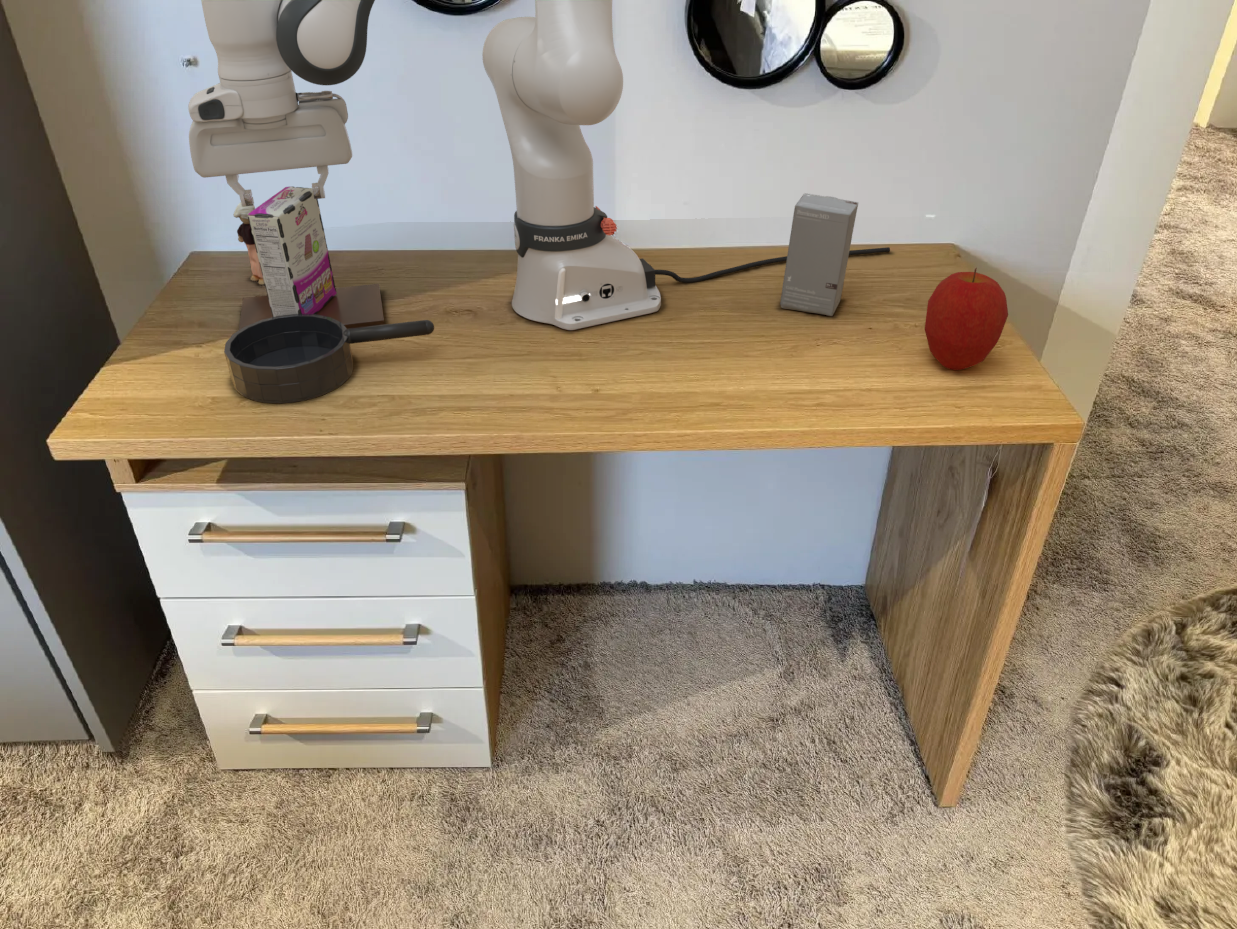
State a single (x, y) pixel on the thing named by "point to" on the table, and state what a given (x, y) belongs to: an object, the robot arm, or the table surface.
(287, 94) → the robot arm
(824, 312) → the cosmetic box
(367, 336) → the pan handle
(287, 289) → the candy bar box
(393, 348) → the table surface
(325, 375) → the pan
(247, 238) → the grandmother figurine
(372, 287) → the cutting board
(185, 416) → the table surface
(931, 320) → the apple
